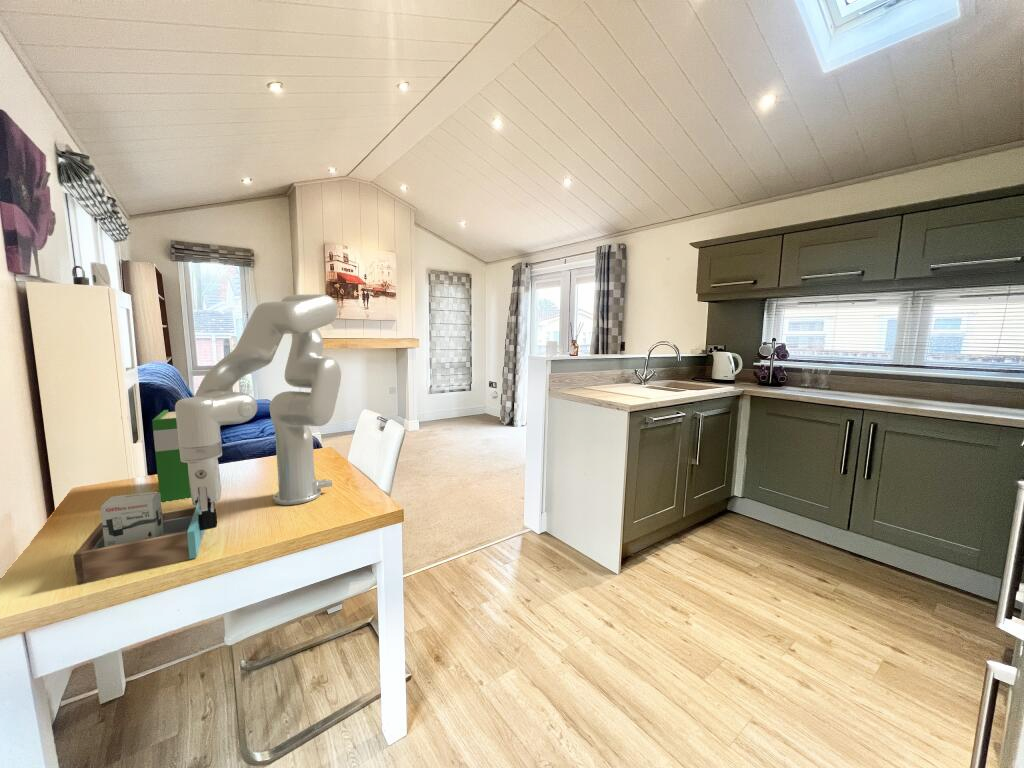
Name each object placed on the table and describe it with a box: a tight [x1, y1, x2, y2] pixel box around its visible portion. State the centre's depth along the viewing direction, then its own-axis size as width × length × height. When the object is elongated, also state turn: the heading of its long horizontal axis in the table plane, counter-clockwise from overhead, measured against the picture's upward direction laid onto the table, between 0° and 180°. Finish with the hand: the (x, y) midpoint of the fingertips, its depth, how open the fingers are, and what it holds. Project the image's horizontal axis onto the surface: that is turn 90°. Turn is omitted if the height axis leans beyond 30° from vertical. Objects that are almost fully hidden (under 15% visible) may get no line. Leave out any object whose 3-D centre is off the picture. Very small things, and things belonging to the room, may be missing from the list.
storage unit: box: [73, 506, 196, 585], centre depth 87 cm, size 17×16×6 cm
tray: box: [92, 503, 205, 560], centre depth 88 cm, size 17×16×6 cm
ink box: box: [100, 491, 164, 547], centre depth 86 cm, size 9×5×12 cm, turn 116°
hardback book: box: [151, 409, 191, 503], centre depth 122 cm, size 18×7×24 cm, turn 32°
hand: (208, 527), depth 93 cm, fingers closed
